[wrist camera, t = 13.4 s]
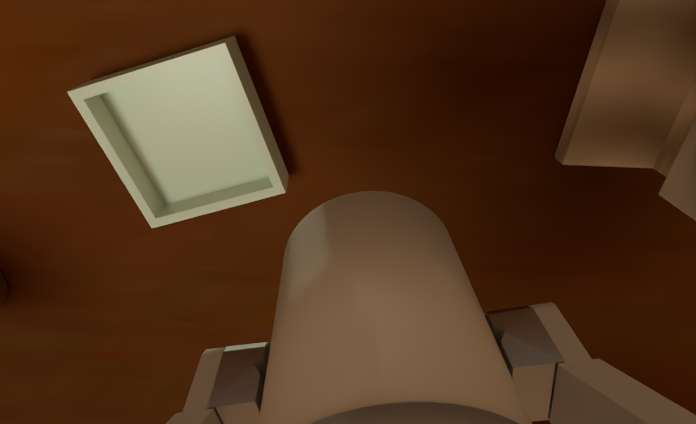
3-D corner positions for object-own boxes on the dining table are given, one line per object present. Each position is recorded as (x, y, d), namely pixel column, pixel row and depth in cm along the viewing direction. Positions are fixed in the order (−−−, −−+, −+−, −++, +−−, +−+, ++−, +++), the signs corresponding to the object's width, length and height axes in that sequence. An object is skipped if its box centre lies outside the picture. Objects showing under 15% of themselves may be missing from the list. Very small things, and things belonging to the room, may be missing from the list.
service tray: (288, 175, 29) (285, 192, 26) (164, 209, 30) (151, 228, 27) (234, 35, 24) (224, 42, 22) (89, 80, 25) (67, 91, 23)
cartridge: (407, 343, 14) (466, 630, 8) (260, 304, 13) (200, 602, 7) (488, 223, 12) (655, 499, 6) (317, 162, 11) (301, 426, 5)
